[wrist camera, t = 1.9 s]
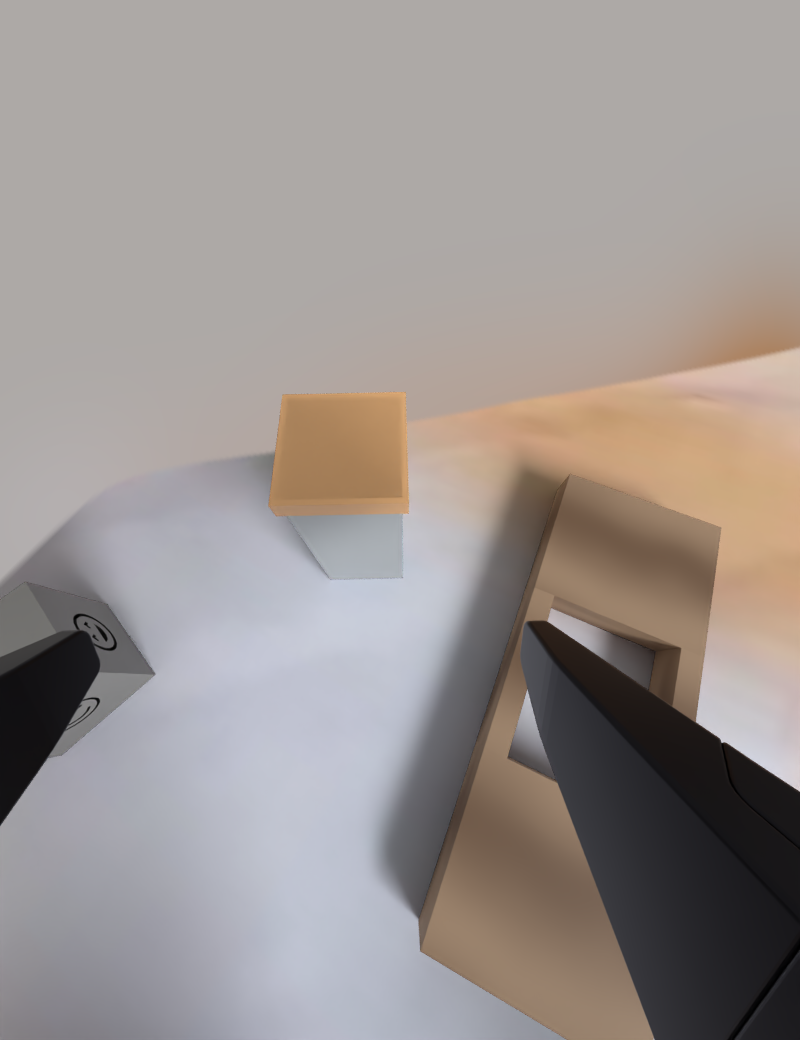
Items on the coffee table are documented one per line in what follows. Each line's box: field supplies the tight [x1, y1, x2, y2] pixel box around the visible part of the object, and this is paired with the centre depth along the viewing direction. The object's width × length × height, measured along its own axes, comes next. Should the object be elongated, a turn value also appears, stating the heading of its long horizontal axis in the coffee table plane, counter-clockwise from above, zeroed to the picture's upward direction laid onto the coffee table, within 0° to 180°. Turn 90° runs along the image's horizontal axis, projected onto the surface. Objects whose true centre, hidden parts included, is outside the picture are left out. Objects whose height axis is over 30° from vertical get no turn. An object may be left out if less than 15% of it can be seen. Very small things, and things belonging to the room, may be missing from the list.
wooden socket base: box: [418, 474, 721, 1040], centre depth 18 cm, size 22×8×2 cm, turn 155°
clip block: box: [268, 392, 409, 580], centre depth 18 cm, size 4×4×10 cm
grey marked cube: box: [0, 582, 155, 758], centre depth 17 cm, size 5×5×5 cm
